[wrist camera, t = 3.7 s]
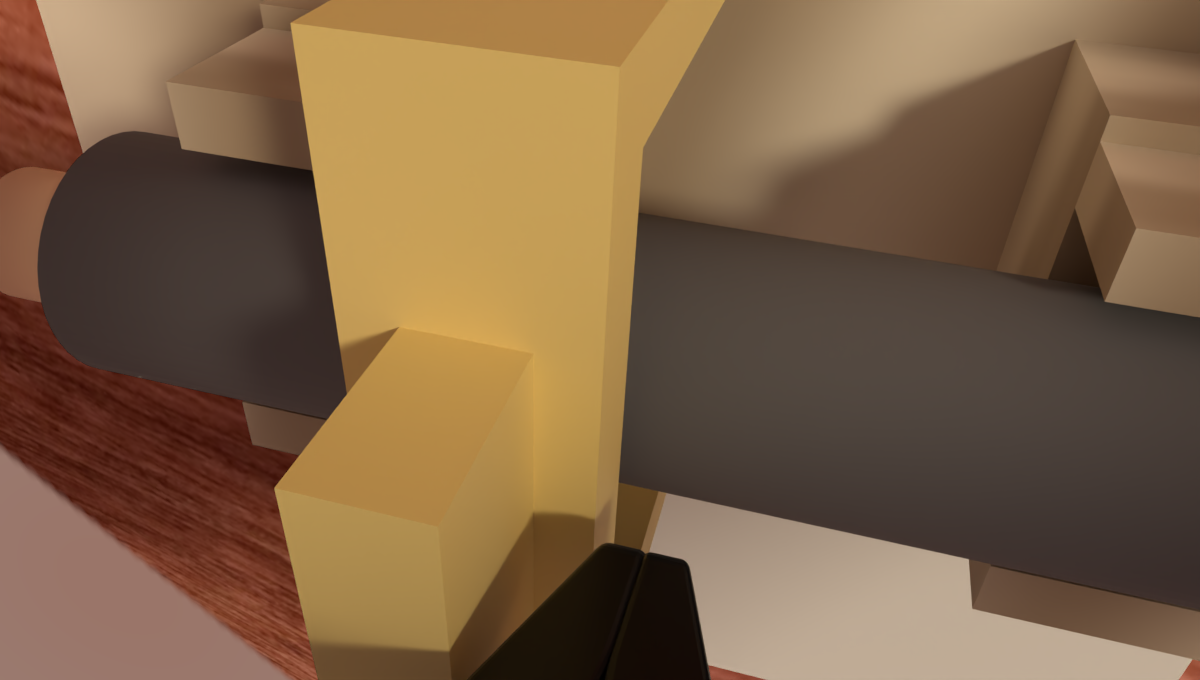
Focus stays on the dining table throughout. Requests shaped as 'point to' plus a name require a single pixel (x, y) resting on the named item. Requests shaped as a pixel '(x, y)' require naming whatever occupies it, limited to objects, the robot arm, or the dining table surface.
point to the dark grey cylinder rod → (692, 363)
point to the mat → (864, 608)
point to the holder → (802, 156)
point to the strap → (472, 313)
